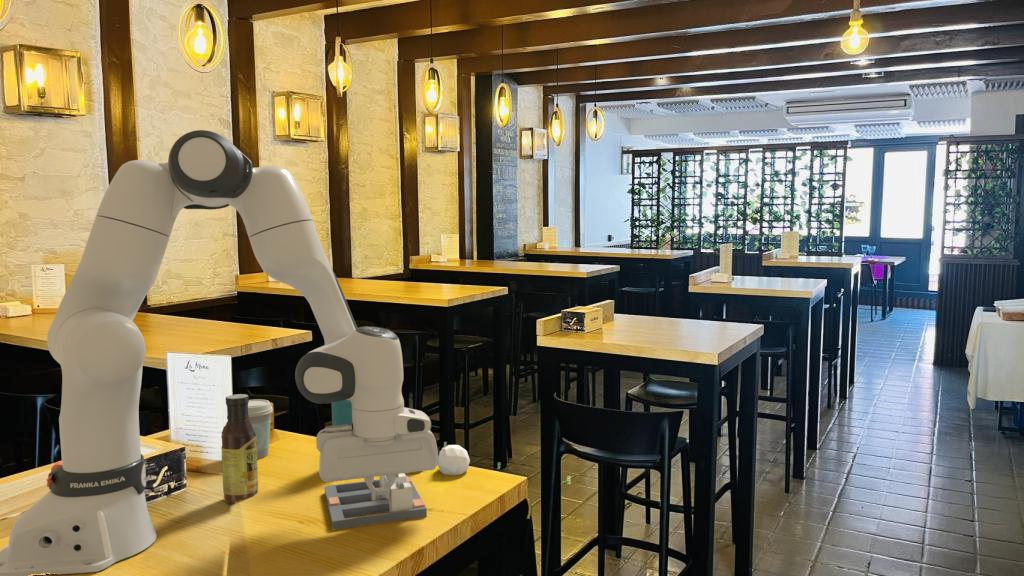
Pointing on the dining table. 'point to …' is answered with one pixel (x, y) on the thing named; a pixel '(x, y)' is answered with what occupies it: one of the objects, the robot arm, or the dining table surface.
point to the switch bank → (366, 505)
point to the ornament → (453, 460)
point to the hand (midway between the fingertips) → (380, 499)
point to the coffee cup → (260, 424)
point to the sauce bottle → (239, 451)
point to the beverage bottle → (341, 413)
